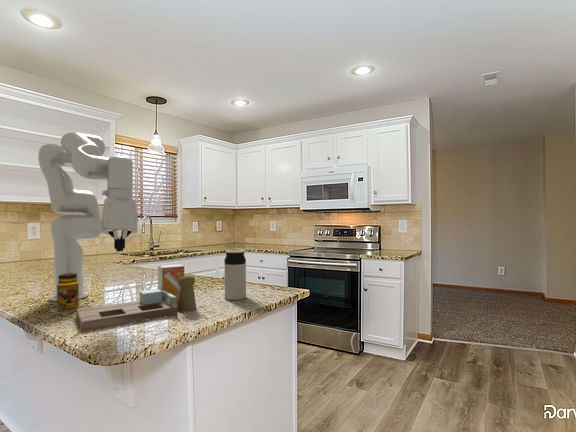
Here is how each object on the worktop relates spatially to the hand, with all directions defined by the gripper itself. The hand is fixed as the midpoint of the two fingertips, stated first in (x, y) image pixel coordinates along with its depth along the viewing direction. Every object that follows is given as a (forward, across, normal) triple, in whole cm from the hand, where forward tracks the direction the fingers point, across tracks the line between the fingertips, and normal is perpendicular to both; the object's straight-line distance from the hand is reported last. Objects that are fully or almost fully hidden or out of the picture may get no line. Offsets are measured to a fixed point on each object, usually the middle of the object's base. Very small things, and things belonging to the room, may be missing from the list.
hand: (119, 250), depth 114 cm
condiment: (+21, -14, +12) cm, 28 cm away
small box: (+20, +18, +4) cm, 27 cm away
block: (+17, +9, -3) cm, 20 cm away
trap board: (+20, +1, -7) cm, 21 cm away
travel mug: (+20, +39, -6) cm, 44 cm away
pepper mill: (+20, +19, -10) cm, 29 cm away
